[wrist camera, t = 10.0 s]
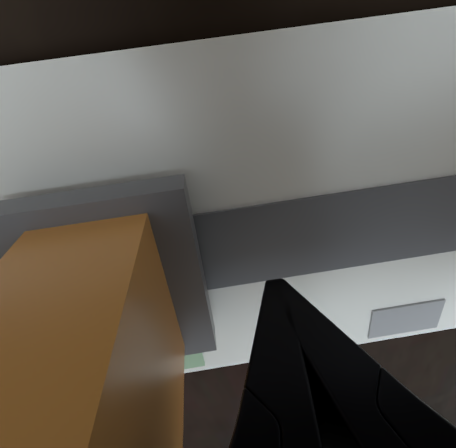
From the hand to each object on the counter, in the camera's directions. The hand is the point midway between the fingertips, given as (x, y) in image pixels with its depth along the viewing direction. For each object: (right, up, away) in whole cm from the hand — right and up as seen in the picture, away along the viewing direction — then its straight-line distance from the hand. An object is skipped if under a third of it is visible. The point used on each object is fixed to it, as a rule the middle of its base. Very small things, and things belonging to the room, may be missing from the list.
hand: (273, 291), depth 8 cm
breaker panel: (-1, +2, +3) cm, 4 cm away
